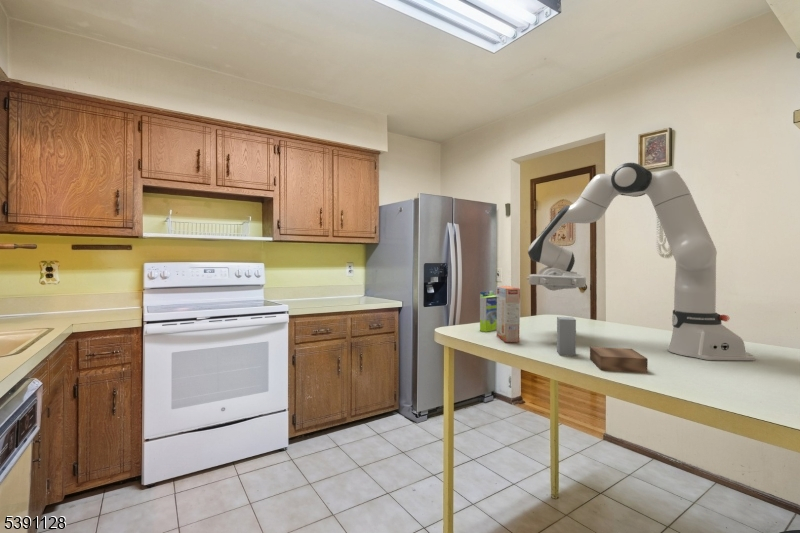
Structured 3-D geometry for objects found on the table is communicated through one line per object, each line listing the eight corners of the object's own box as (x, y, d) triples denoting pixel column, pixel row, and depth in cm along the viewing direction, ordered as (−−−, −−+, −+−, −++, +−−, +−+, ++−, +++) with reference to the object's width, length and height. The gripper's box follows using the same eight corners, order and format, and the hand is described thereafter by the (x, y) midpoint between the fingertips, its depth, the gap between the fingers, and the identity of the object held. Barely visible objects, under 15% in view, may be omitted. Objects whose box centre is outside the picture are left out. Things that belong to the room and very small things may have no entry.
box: (486, 332, 166) (486, 292, 166) (478, 330, 170) (478, 292, 169) (500, 329, 174) (500, 291, 173) (492, 328, 177) (492, 290, 176)
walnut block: (631, 361, 119) (631, 348, 119) (647, 372, 107) (647, 358, 107) (589, 359, 122) (590, 346, 122) (600, 370, 110) (600, 356, 110)
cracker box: (520, 343, 145) (520, 288, 145) (504, 343, 145) (504, 288, 145) (510, 335, 159) (510, 285, 159) (496, 335, 159) (496, 285, 159)
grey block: (572, 352, 131) (572, 317, 130) (575, 356, 126) (575, 319, 126) (556, 351, 132) (557, 316, 132) (559, 355, 127) (559, 319, 127)
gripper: (526, 270, 155) (530, 272, 142) (580, 272, 151) (590, 274, 137) (525, 285, 156) (529, 289, 142) (579, 288, 151) (589, 292, 138)
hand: (560, 282), depth 140 cm, fingers open, 8 cm apart
